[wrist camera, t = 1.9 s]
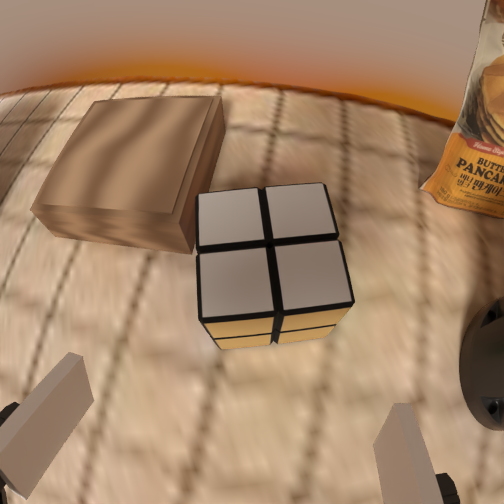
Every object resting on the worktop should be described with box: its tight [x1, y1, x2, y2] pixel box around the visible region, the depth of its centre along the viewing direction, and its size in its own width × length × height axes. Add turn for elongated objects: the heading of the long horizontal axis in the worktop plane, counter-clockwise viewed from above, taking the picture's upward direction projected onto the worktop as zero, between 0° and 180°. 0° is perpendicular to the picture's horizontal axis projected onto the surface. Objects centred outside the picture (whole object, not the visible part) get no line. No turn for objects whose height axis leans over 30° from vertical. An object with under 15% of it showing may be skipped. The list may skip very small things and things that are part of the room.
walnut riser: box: [30, 96, 225, 254], centre depth 35 cm, size 18×18×6 cm
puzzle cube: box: [195, 182, 355, 350], centre depth 26 cm, size 10×10×10 cm
